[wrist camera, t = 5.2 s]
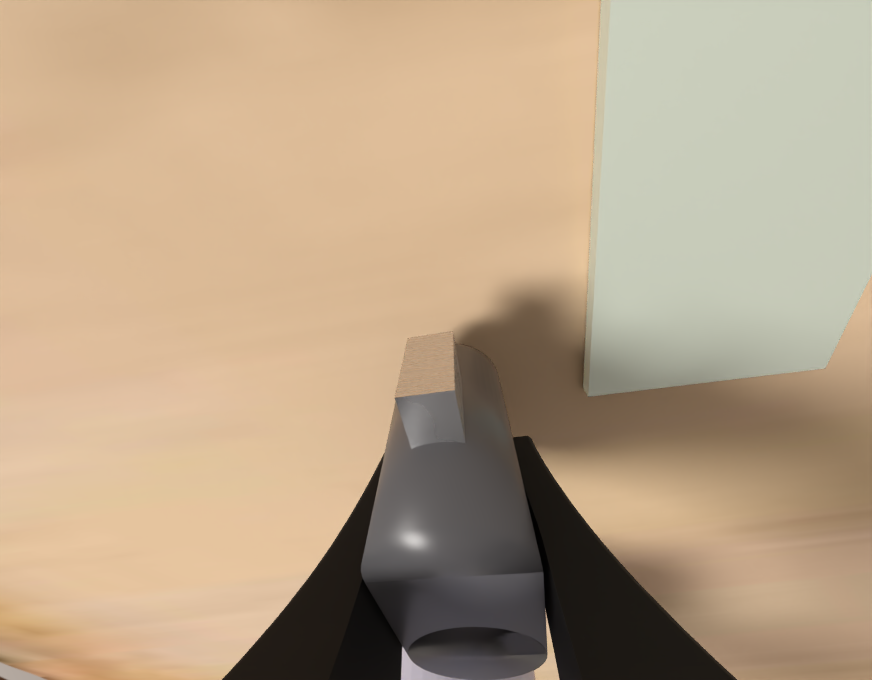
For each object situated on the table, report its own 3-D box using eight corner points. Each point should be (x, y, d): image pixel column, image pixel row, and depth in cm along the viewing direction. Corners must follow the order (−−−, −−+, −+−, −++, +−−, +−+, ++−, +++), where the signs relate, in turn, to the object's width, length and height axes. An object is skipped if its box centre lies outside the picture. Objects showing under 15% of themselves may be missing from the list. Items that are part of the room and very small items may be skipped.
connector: (511, 484, 14) (548, 679, 9) (432, 491, 14) (423, 681, 9) (489, 297, 10) (538, 459, 5) (378, 315, 10) (306, 482, 5)
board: (810, 359, 13) (825, 368, 13) (582, 388, 14) (588, 396, 14) (1076, -219, 6) (1131, -252, 6) (604, -83, 8) (616, -101, 7)
